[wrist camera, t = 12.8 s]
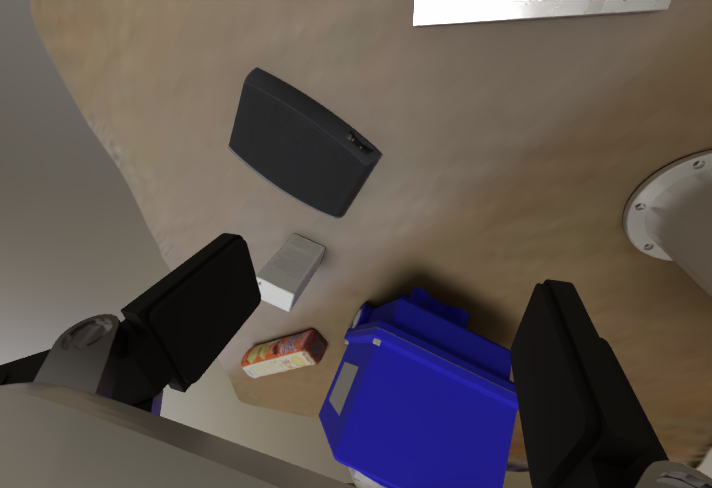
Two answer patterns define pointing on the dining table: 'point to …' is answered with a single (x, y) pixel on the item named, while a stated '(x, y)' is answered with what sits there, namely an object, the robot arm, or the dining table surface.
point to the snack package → (284, 354)
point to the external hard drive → (300, 145)
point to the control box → (420, 399)
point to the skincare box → (289, 272)
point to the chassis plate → (523, 10)
